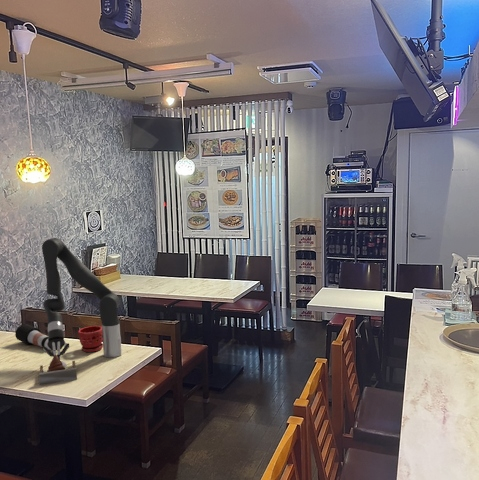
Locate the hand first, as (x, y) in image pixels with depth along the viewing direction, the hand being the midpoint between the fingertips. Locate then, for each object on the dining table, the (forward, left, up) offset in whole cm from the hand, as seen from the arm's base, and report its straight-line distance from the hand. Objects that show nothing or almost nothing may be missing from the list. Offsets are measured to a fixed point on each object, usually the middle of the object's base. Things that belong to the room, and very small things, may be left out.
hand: (57, 362), depth 234 cm
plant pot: (-13, -29, -4) cm, 32 cm away
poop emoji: (0, +4, -4) cm, 6 cm away
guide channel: (-1, +5, -4) cm, 7 cm away
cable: (+16, -42, -5) cm, 46 cm away
